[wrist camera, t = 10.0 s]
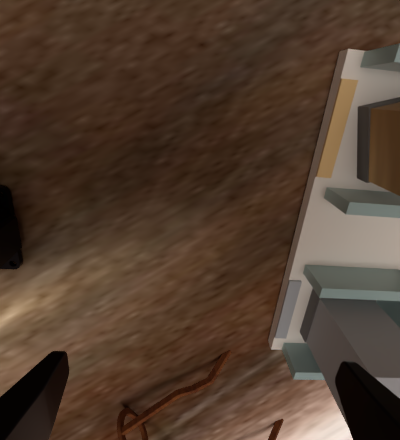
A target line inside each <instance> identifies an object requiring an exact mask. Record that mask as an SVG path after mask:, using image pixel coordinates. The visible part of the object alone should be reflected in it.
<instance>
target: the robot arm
mask: <svg viewBox="0 0 400 440" xmlns="http://www.w3.org/2000/svg"><path fill="white" fill-rule="evenodd" d="M0 191H1V192H2V193H3V196H2V195H0V269H17V268H19V267H20V266H21V265H22V262H23V261H22V255H21V250H20V249H21V248H22V246H21V240H20V235H19V229H18V223H17V218H16V217H15V216H14V211H13V205H12V200H11V194H10V191H9V189H8V188H7V187H5V186H2V185H0ZM13 261H15V262H16V264H15V263H13ZM68 375H69V365H68V357H67V353H66V352H65V351H53V352H51V353H50V354H48V355H47V356H46V357H45V358H44V359H43V360H42V361H41V362H39V363H38V364H37V365H36V366H35V367H34V368H33V369H32V370H30V371H29V372H28V373H27V374H26V375H25V376H24V377H23V378H21V379H20V380H19V381H18V382H17V383H16V384H15V385H14V386H12V387H11V388H10V389H9V390H8V391H7V392H6V393H5V394H3V395H2V396H1V397H0V440H48V439H49V437H50V434H51V431H52V428H53V425H54V422H55V419H56V416H57V412H58V409H59V406H60V402H61V399H62V396H63V392H64V389H65V386H66V383H67V379H68ZM335 385H336V388H337V392H338V395H339V398H340V401H341V404H342V407H343V411H344V414H345V417H346V420H347V423H348V426H349V429H350V432H351V435H352V438H353V440H400V398H399V397H397V396H396V395H395V394H394V393H393V392H391V391H390V390H389V389H388V388H387V387H385V386H384V385H383V384H382V383H381V382H379V381H378V380H377V379H376V378H375V377H373V376H372V375H371V374H370V373H369V372H367V371H366V370H365V369H364V368H363V367H361V366H360V365H359V364H358V363H356V362H354V361H342V362H341V364H340V366H339V369H338V371H337V374H336V376H335Z"/></svg>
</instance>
